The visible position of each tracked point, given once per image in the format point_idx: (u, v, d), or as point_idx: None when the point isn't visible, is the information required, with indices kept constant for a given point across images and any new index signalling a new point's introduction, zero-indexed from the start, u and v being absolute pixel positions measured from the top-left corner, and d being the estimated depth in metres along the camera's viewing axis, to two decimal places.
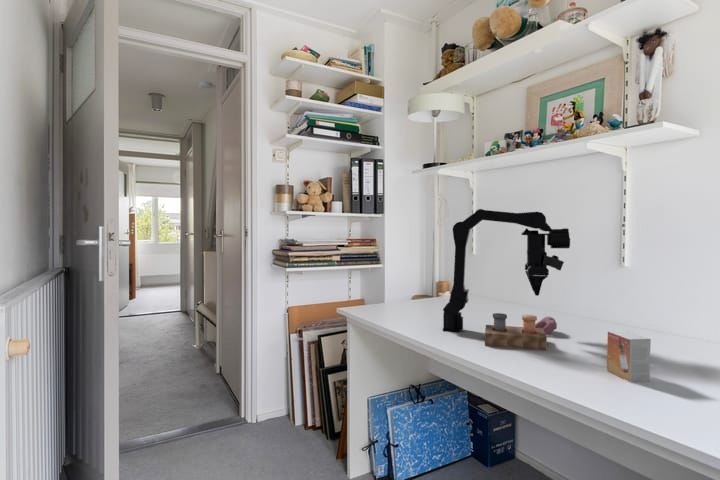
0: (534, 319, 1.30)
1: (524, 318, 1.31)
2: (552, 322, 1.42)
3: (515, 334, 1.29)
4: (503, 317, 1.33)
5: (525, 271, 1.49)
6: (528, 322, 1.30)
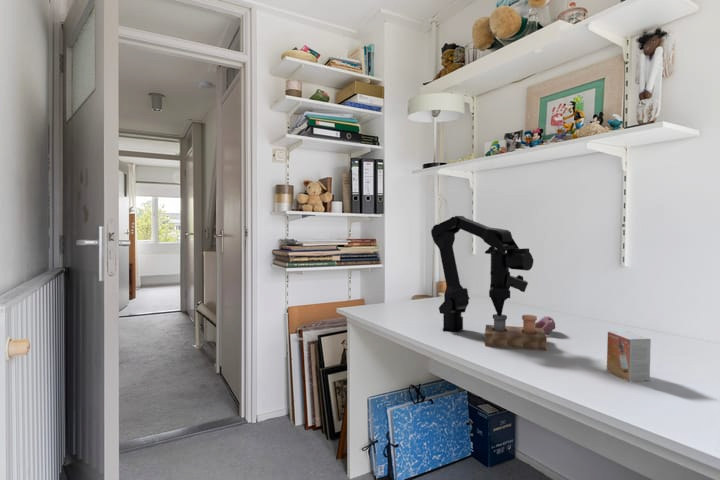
0: (534, 319, 1.30)
1: (524, 318, 1.31)
2: (551, 322, 1.42)
3: (515, 334, 1.29)
4: (503, 318, 1.33)
5: None
6: (528, 322, 1.30)
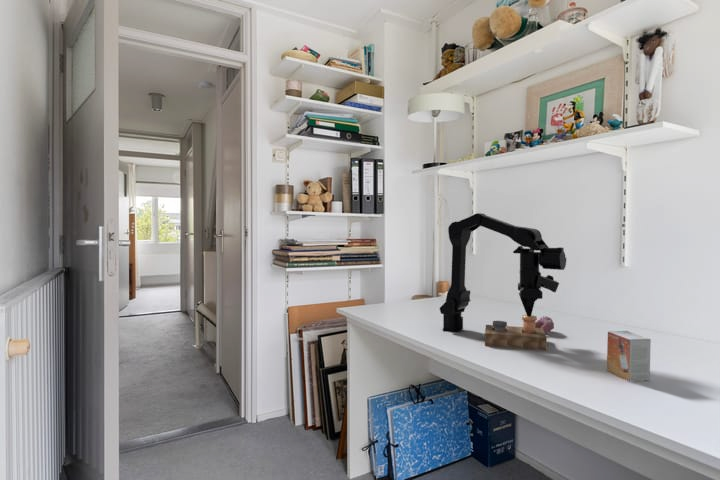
0: (534, 319, 1.30)
1: (524, 318, 1.31)
2: (549, 322, 1.42)
3: (515, 334, 1.29)
4: (503, 325, 1.33)
5: None
6: (528, 322, 1.30)
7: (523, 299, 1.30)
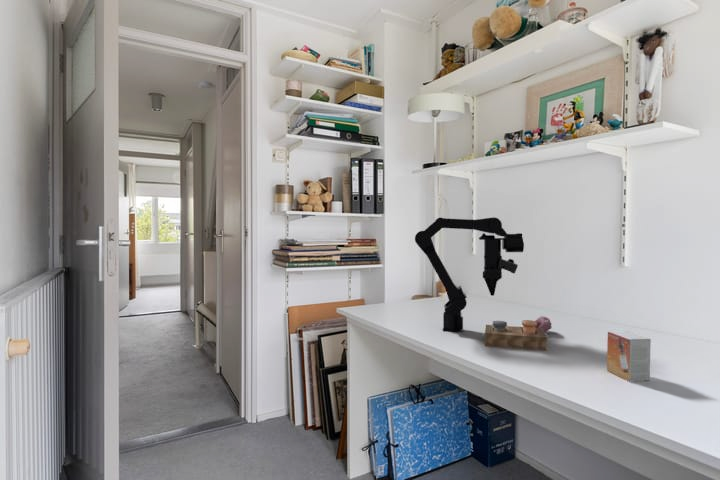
0: (534, 324, 1.30)
1: (524, 323, 1.31)
2: (547, 322, 1.42)
3: (515, 334, 1.29)
4: (503, 325, 1.33)
5: None
6: (528, 327, 1.30)
7: (487, 280, 1.47)
